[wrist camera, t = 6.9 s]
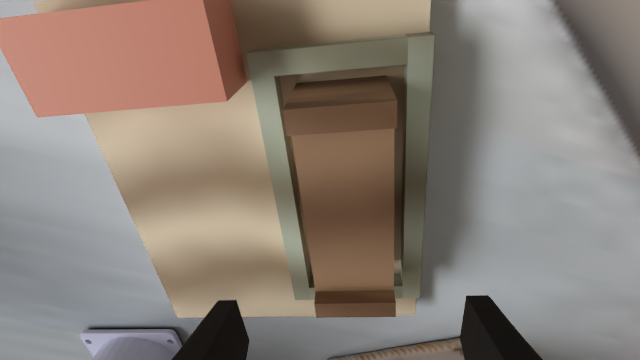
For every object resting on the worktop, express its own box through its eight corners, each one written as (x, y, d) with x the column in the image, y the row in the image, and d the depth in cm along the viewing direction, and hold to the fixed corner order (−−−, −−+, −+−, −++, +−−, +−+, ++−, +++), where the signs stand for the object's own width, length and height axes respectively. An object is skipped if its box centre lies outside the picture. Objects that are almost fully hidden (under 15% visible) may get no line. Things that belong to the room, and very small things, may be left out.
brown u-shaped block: (387, 262, 20) (395, 316, 17) (321, 264, 21) (316, 317, 17) (386, 75, 15) (397, 100, 12) (296, 83, 15) (282, 109, 12)
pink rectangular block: (247, 82, 16) (227, 101, 13) (86, 96, 16) (37, 117, 14) (228, -8, 14) (200, -7, 11) (49, 13, 15) (-15, 19, 12)
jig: (412, 300, 23) (417, 328, 22) (184, 304, 25) (171, 330, 23) (426, -46, 14) (439, -51, 12) (54, 1, 16) (13, 3, 14)
